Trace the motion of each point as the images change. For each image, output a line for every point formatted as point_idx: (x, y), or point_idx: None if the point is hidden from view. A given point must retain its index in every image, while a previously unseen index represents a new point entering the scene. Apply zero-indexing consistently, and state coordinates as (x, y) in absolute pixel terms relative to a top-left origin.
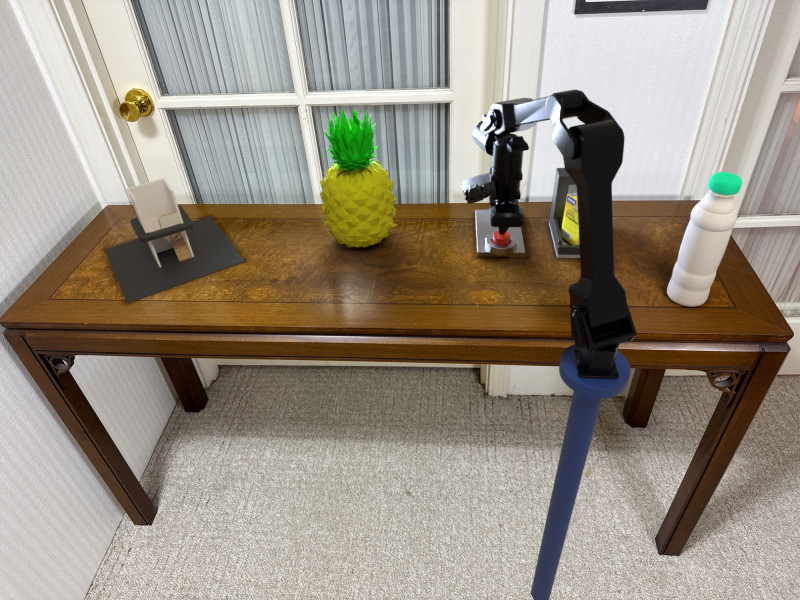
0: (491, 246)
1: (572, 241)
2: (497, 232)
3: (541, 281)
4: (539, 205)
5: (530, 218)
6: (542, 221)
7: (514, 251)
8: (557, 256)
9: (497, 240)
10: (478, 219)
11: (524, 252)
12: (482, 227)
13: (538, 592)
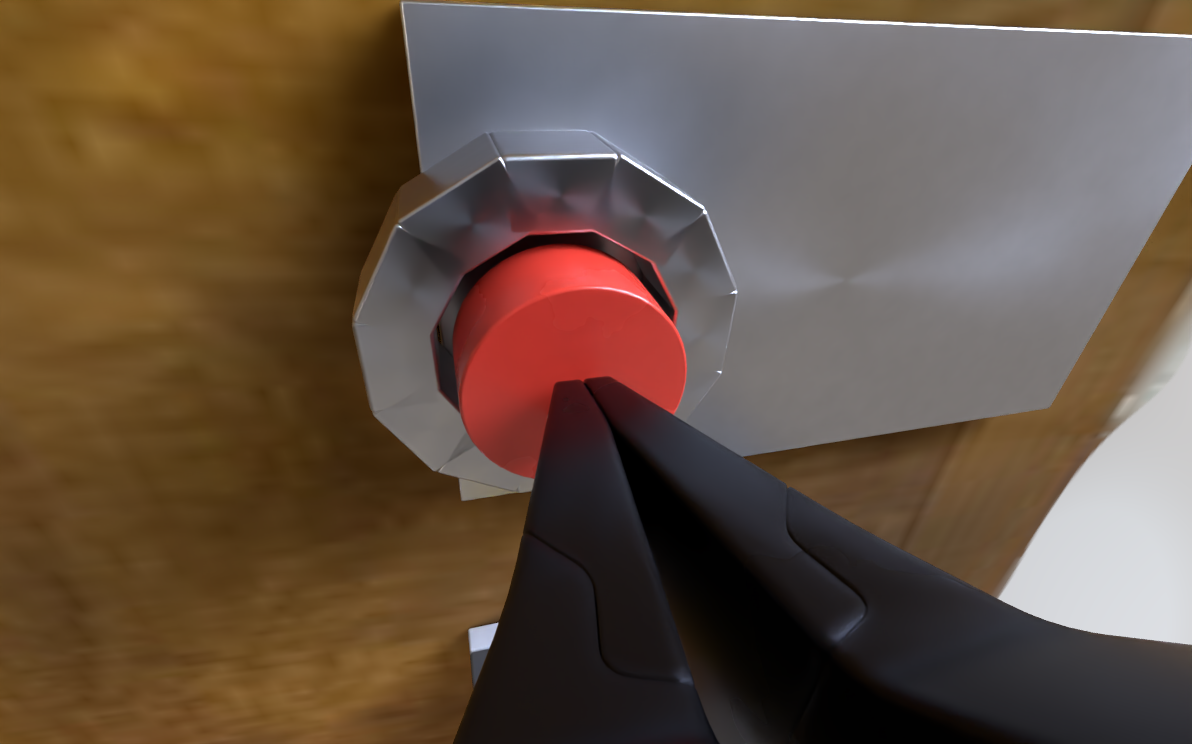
0: (391, 235)
1: None
2: (636, 342)
3: (109, 597)
4: (1037, 489)
5: (936, 459)
6: (880, 518)
7: None
8: (469, 640)
9: (467, 337)
10: (1095, 65)
11: (462, 496)
12: (939, 107)
13: None
